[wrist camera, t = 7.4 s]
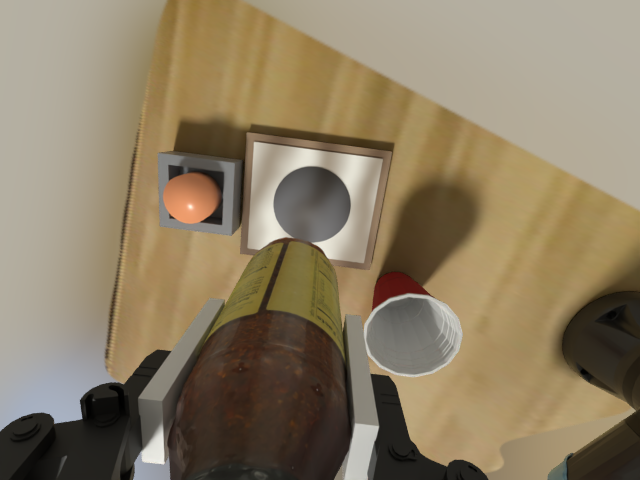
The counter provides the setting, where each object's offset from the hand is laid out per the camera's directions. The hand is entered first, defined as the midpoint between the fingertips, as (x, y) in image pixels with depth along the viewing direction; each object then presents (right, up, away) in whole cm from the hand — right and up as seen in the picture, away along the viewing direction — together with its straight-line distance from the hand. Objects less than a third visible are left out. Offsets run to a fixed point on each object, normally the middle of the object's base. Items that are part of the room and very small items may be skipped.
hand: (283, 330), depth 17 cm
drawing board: (+1, +9, +27) cm, 29 cm away
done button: (-13, +10, +24) cm, 29 cm away
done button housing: (-13, +11, +27) cm, 32 cm away
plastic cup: (+12, -2, +31) cm, 34 cm away
